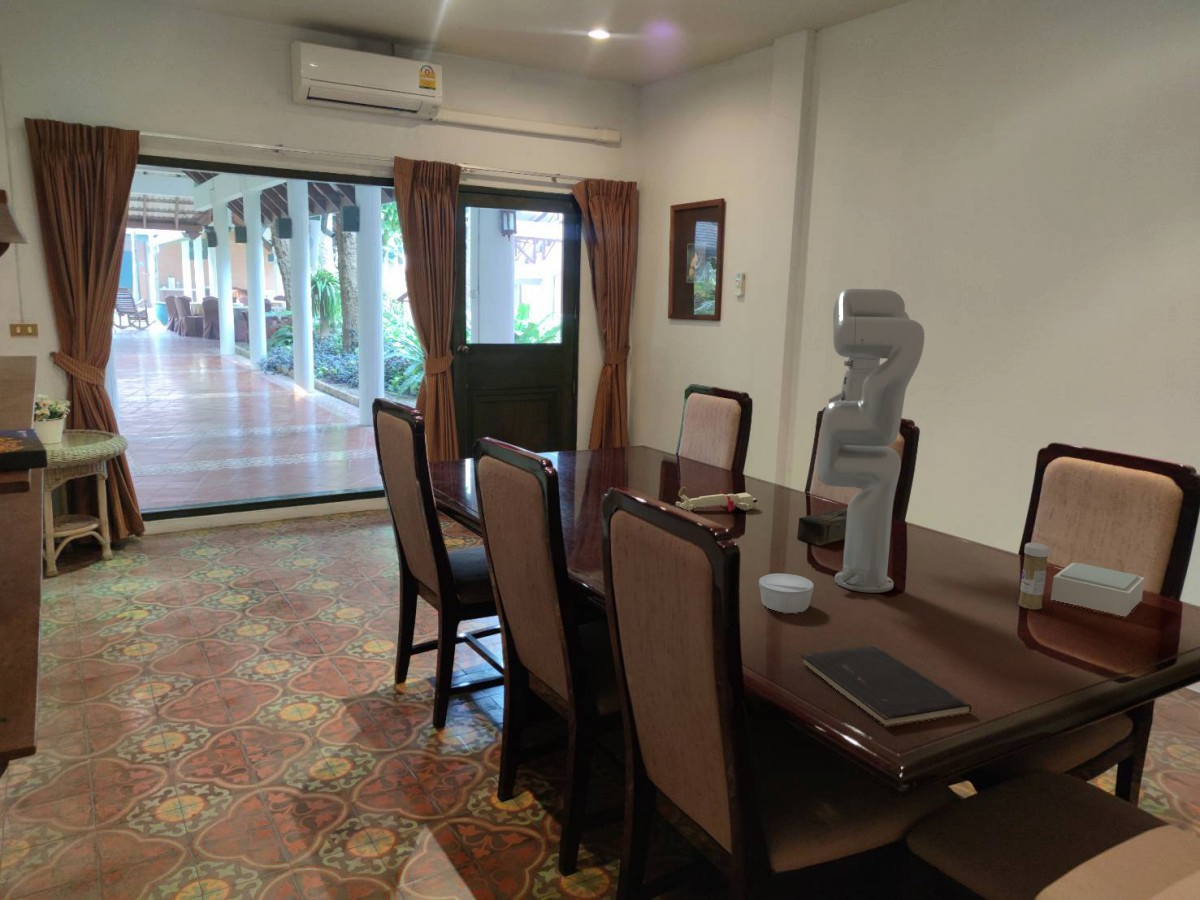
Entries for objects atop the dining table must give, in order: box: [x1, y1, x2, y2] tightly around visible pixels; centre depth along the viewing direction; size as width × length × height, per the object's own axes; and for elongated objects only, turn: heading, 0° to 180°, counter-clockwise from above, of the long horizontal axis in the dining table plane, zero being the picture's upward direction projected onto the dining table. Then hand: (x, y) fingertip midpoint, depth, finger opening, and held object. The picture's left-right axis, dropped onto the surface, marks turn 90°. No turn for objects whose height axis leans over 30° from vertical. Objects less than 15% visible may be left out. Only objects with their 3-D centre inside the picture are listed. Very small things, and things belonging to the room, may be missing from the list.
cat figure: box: [675, 486, 759, 513], centre depth 249 cm, size 10×9×25 cm
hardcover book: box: [800, 644, 972, 725], centre depth 136 cm, size 16×23×2 cm
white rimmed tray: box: [1050, 562, 1145, 617], centre depth 178 cm, size 14×14×6 cm
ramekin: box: [758, 572, 815, 614], centre depth 172 cm, size 11×11×5 cm
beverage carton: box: [796, 508, 847, 546], centre depth 223 cm, size 8×19×7 cm, turn 129°
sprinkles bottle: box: [1017, 542, 1050, 610], centre depth 174 cm, size 5×5×13 cm
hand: (859, 431), depth 216 cm, fingers open, 9 cm apart
